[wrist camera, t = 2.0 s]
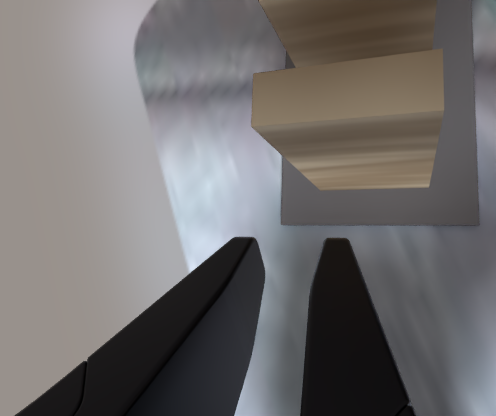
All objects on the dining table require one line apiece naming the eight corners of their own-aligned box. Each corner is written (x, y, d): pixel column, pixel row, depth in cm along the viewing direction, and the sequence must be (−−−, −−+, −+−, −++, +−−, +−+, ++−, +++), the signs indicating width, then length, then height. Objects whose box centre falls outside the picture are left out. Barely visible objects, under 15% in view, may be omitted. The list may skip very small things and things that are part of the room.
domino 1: (427, 104, 20) (440, -40, 11) (321, 113, 22) (256, -3, 13) (426, 72, 20) (439, -96, 11) (322, 84, 22) (258, -52, 13)
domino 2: (428, 187, 20) (443, 110, 10) (320, 190, 21) (251, 126, 12) (428, 153, 20) (442, 48, 11) (321, 159, 22) (253, 73, 12)
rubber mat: (478, 225, 19) (479, 224, 19) (283, 225, 22) (281, 224, 22) (466, -113, 21) (467, -120, 21) (291, -70, 25) (289, -75, 24)
